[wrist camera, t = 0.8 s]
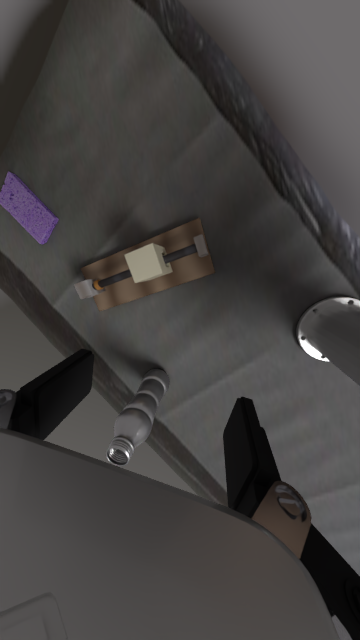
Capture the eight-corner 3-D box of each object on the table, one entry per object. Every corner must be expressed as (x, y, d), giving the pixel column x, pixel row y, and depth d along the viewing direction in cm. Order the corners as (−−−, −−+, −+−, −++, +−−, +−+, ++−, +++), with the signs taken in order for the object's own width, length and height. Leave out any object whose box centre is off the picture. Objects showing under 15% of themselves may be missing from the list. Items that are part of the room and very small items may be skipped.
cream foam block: (164, 247, 33) (152, 243, 27) (172, 272, 34) (162, 273, 28) (141, 257, 34) (124, 254, 28) (149, 280, 35) (134, 283, 29)
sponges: (17, 175, 38) (8, 170, 36) (61, 220, 39) (54, 218, 37) (5, 203, 40) (-5, 200, 38) (46, 245, 41) (39, 244, 39)
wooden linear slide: (200, 219, 33) (196, 209, 27) (215, 272, 35) (215, 273, 29) (85, 268, 40) (61, 268, 34) (103, 309, 42) (84, 317, 36)
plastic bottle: (177, 379, 44) (147, 464, 25) (157, 392, 46) (118, 479, 27) (159, 360, 43) (116, 432, 25) (141, 374, 46) (88, 450, 27)
